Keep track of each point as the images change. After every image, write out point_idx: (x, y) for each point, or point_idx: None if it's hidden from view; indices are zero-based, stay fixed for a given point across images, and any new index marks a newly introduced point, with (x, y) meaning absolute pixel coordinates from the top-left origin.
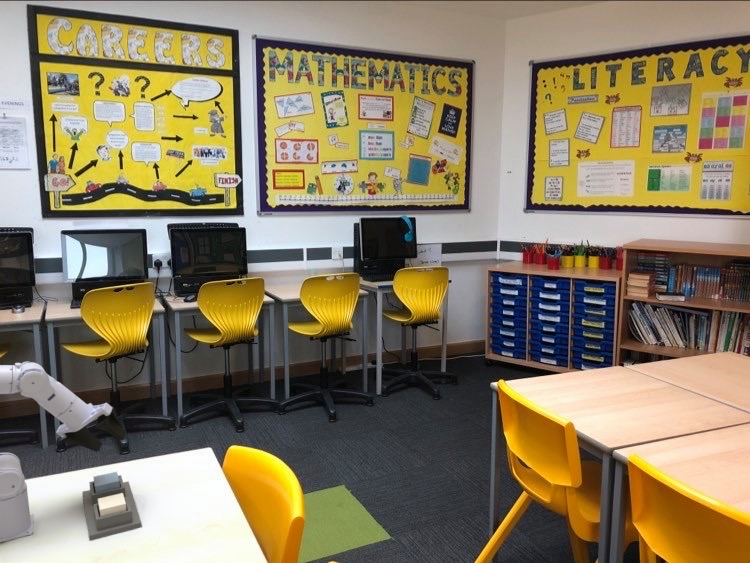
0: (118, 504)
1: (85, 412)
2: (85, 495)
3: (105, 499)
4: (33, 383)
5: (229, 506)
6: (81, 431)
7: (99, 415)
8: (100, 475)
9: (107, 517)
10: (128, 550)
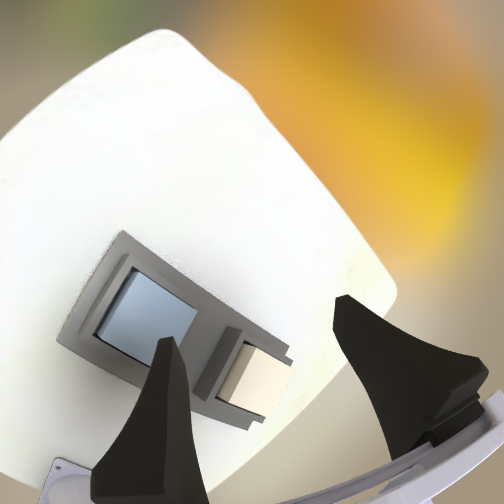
0: (284, 381)
1: None
2: (84, 351)
3: (246, 391)
4: None
5: (340, 214)
6: (184, 473)
7: (438, 451)
8: (113, 319)
9: None
10: (306, 391)
